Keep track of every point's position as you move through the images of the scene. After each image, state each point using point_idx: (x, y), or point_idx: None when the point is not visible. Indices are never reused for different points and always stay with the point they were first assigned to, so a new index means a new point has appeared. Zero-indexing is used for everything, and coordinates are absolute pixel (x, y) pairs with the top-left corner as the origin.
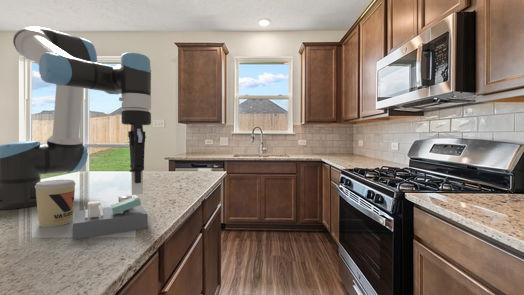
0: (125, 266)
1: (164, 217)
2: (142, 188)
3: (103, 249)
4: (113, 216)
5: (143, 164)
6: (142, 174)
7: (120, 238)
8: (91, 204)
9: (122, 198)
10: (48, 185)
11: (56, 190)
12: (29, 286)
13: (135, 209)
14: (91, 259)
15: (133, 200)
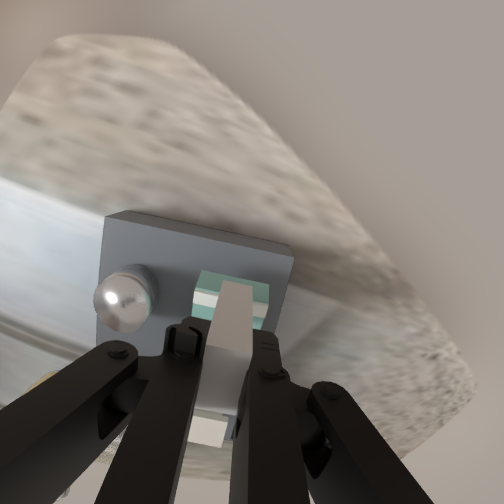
0: (460, 358)
1: (205, 142)
2: (251, 299)
3: (361, 379)
4: None
5: (362, 416)
6: (251, 340)
7: (321, 337)
8: (222, 439)
9: (141, 325)
10: (63, 495)
11: None
12: (401, 453)
13: (192, 269)
14: (389, 399)
15: (257, 322)
